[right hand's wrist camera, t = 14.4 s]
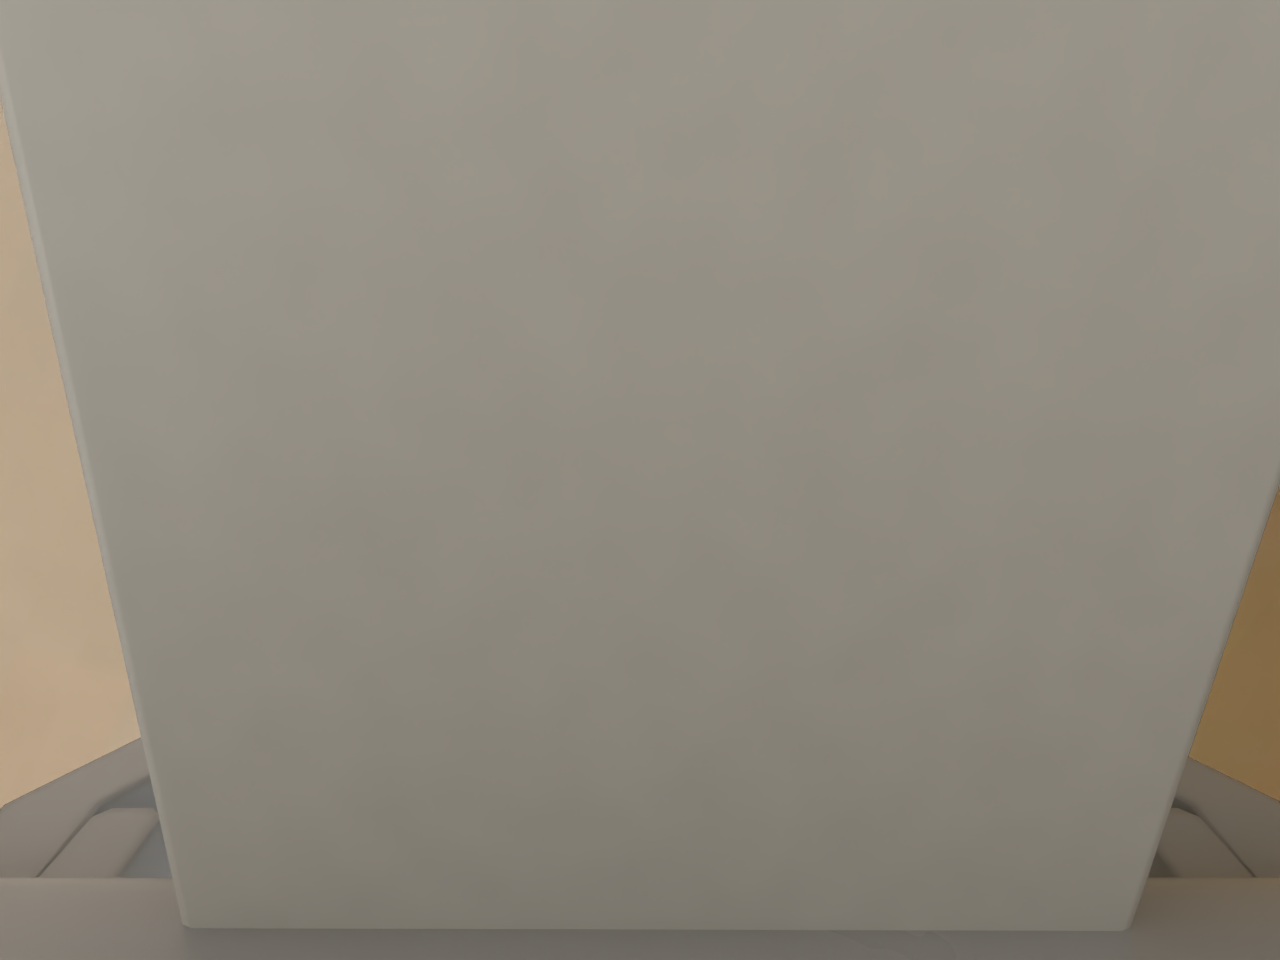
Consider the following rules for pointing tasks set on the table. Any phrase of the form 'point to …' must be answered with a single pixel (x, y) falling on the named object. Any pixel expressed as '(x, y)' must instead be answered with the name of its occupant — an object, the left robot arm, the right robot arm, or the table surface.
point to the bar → (662, 441)
